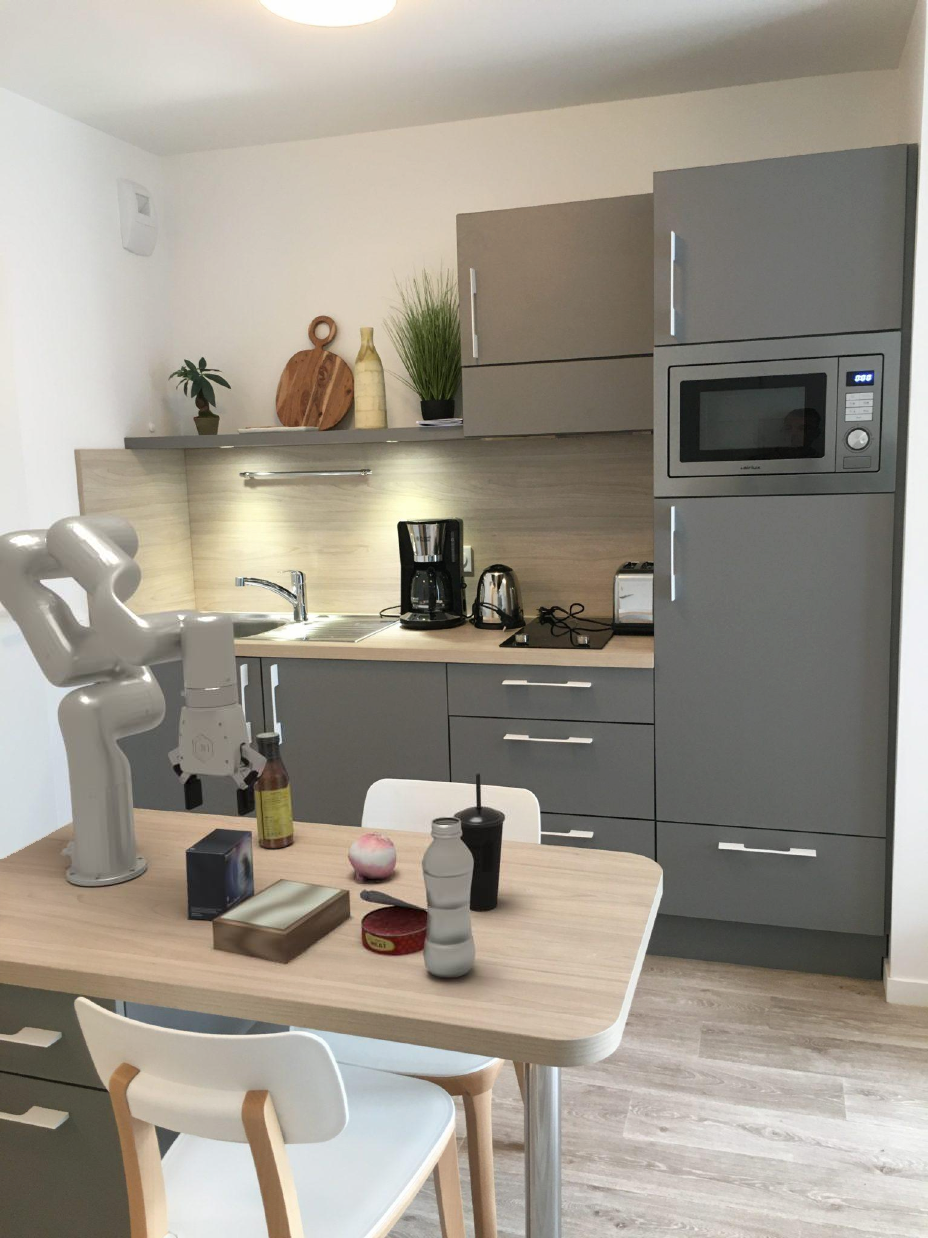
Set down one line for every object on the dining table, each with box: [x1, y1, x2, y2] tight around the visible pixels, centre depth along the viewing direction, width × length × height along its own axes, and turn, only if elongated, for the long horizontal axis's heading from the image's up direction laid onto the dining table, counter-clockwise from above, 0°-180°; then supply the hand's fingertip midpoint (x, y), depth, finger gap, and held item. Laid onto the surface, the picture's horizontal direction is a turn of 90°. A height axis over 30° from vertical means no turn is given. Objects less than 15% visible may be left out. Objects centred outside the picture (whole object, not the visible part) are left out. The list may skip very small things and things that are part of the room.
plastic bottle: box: [421, 816, 476, 978], centre depth 127 cm, size 6×7×20 cm
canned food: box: [359, 888, 428, 957], centre depth 138 cm, size 11×10×10 cm
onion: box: [347, 831, 397, 884], centre depth 161 cm, size 8×8×7 cm
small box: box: [185, 828, 255, 921], centre depth 151 cm, size 11×6×10 cm, turn 168°
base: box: [211, 878, 352, 964], centre depth 141 cm, size 12×16×4 cm
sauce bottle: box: [254, 731, 295, 849], centre depth 177 cm, size 7×6×20 cm
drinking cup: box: [452, 773, 506, 912], centre depth 148 cm, size 8×8×20 cm
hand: (220, 810), depth 149 cm, fingers open, 9 cm apart
